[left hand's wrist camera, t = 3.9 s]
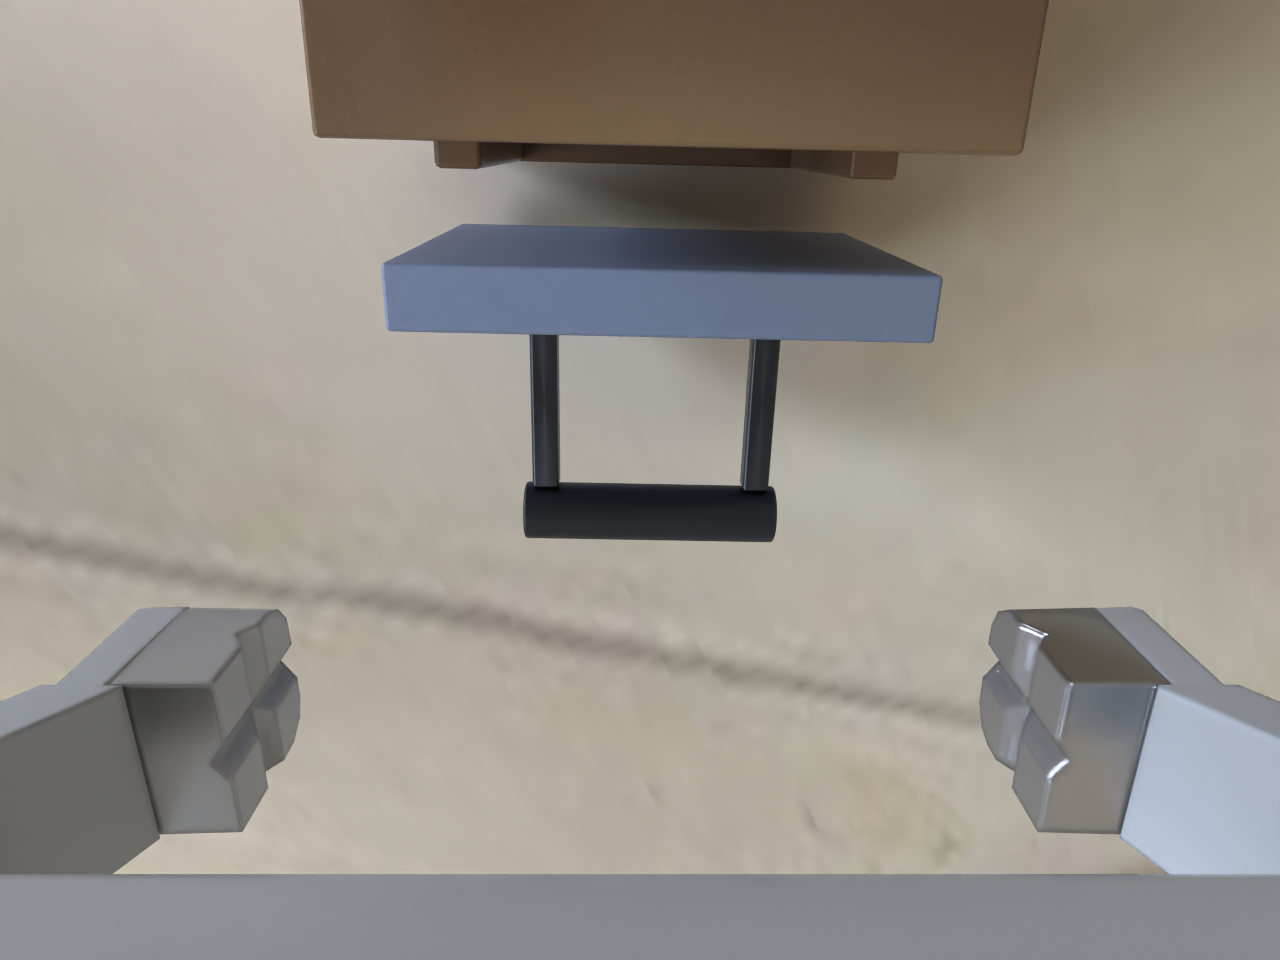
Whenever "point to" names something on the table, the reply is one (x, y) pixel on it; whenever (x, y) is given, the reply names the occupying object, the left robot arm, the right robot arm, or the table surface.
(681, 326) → the drawer
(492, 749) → the table surface
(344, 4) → the cabinet
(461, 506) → the table surface
